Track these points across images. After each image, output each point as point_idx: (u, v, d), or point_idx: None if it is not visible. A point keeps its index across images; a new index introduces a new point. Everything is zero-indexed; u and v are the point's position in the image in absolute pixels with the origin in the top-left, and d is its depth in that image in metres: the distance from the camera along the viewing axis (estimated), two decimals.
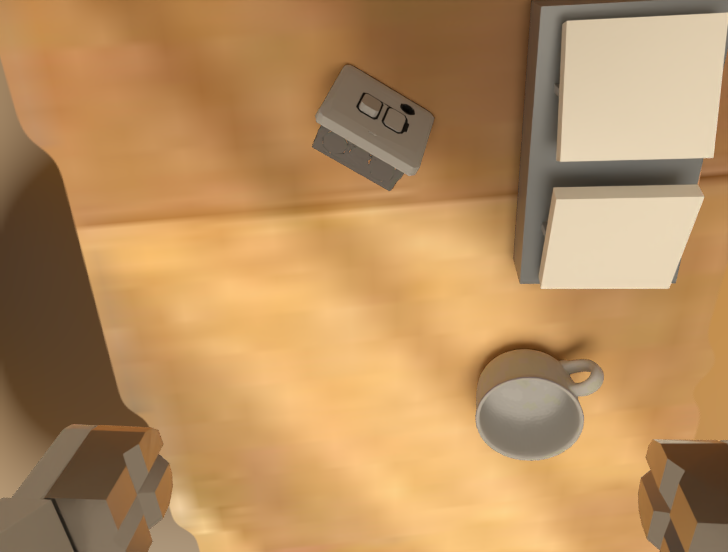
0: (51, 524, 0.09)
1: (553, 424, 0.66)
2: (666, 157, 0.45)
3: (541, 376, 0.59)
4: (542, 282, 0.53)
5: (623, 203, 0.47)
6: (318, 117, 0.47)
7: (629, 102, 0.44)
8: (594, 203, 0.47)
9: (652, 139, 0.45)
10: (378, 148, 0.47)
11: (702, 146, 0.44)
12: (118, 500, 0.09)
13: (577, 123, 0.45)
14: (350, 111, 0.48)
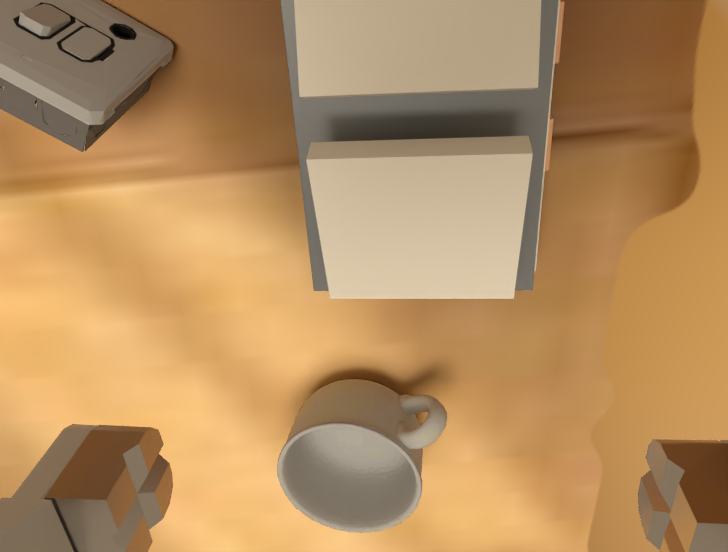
0: (51, 524, 0.09)
1: (398, 480, 0.48)
2: (464, 87, 0.27)
3: (357, 421, 0.42)
4: (329, 289, 0.36)
5: (410, 165, 0.30)
6: None
7: None
8: (366, 166, 0.30)
9: (439, 57, 0.27)
10: (29, 80, 0.30)
11: (519, 68, 0.27)
12: (118, 500, 0.09)
13: (319, 32, 0.28)
14: None
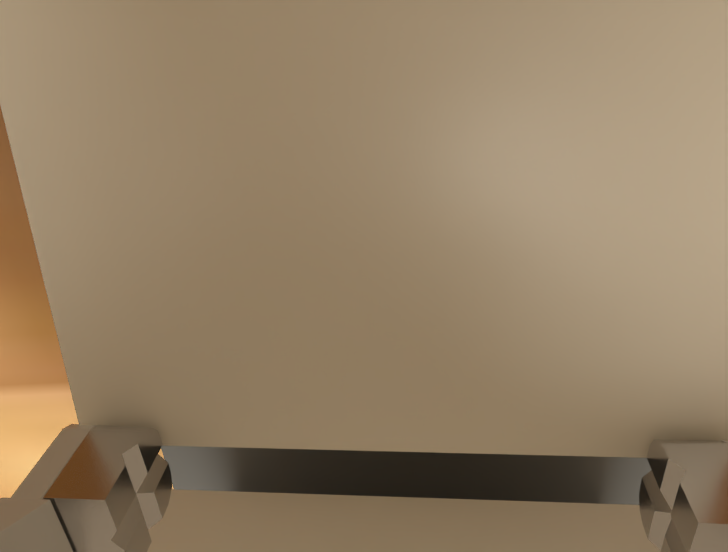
0: (50, 524, 0.09)
1: None
2: (526, 448, 0.10)
3: None
4: None
5: None
6: None
7: (333, 212, 0.09)
8: None
9: (458, 375, 0.09)
10: None
11: (691, 413, 0.09)
12: (117, 500, 0.09)
13: (113, 298, 0.10)
14: None
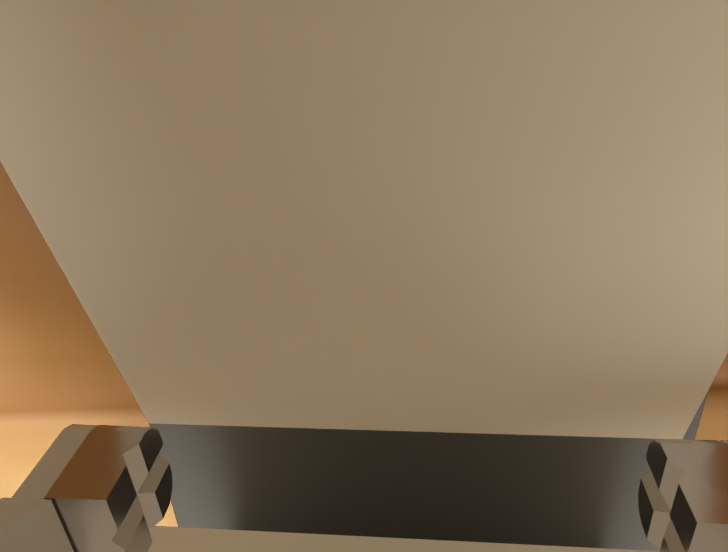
0: (51, 524, 0.09)
1: None
2: (510, 431, 0.12)
3: None
4: None
5: None
6: None
7: (348, 287, 0.10)
8: None
9: (457, 390, 0.11)
10: None
11: (648, 413, 0.11)
12: (118, 500, 0.09)
13: (158, 340, 0.11)
14: None
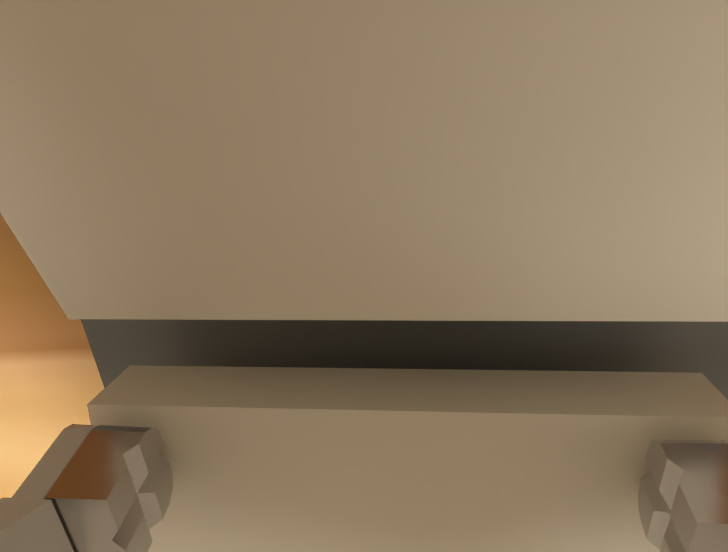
0: (51, 524, 0.09)
1: None
2: (535, 315, 0.09)
3: None
4: None
5: (377, 437, 0.10)
6: None
7: (309, 75, 0.07)
8: (250, 431, 0.10)
9: (465, 251, 0.08)
10: None
11: (722, 281, 0.08)
12: (118, 500, 0.09)
13: (58, 182, 0.08)
14: None
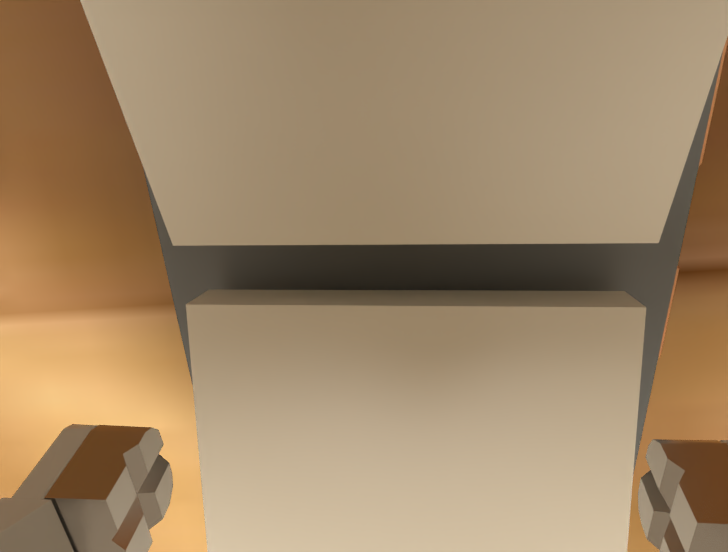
0: (51, 524, 0.09)
1: None
2: (503, 240, 0.13)
3: None
4: None
5: (392, 326, 0.14)
6: None
7: (357, 69, 0.11)
8: (302, 323, 0.15)
9: (454, 190, 0.12)
10: None
11: (626, 212, 0.13)
12: (118, 500, 0.09)
13: (185, 140, 0.12)
14: None
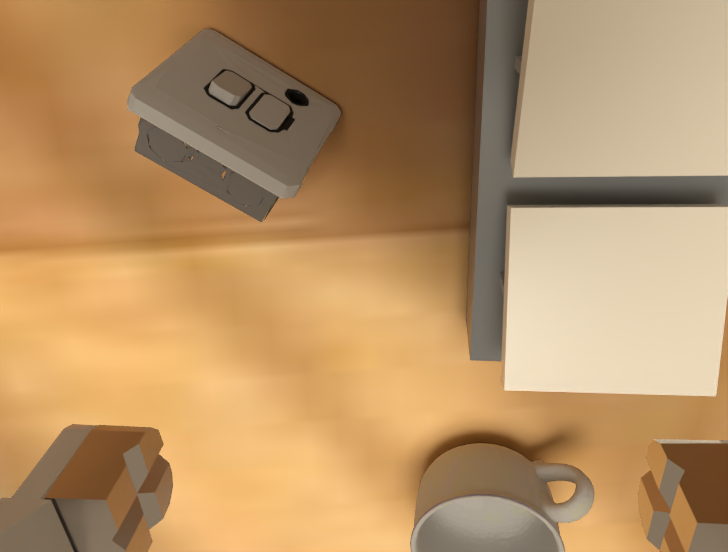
0: (51, 524, 0.09)
1: (524, 548, 0.47)
2: (674, 174, 0.29)
3: (503, 493, 0.41)
4: (505, 376, 0.33)
5: (614, 217, 0.30)
6: (130, 101, 0.29)
7: (631, 98, 0.27)
8: (569, 216, 0.31)
9: (658, 150, 0.28)
10: (229, 153, 0.29)
11: None
12: (118, 500, 0.09)
13: (543, 126, 0.28)
14: (190, 94, 0.30)
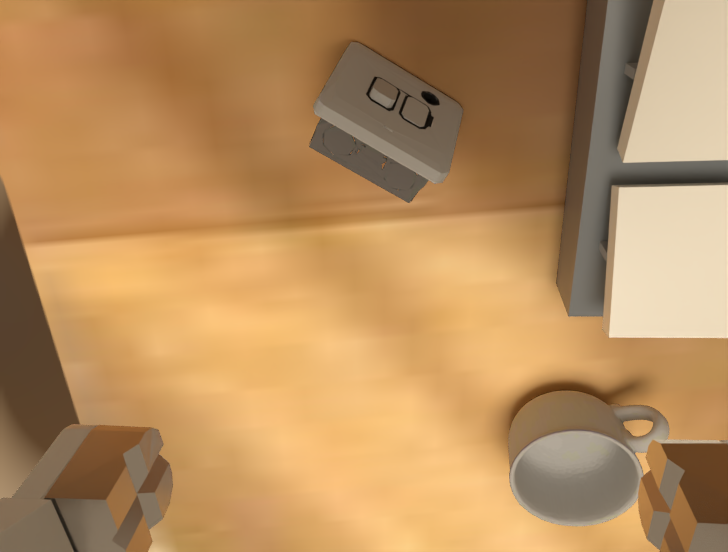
0: (51, 524, 0.09)
1: (601, 480, 0.55)
2: None
3: (592, 428, 0.48)
4: (610, 326, 0.40)
5: (704, 193, 0.37)
6: (317, 107, 0.36)
7: (727, 98, 0.34)
8: (667, 193, 0.38)
9: None
10: (395, 148, 0.36)
11: None
12: (118, 500, 0.09)
13: (653, 121, 0.35)
14: (358, 100, 0.37)
